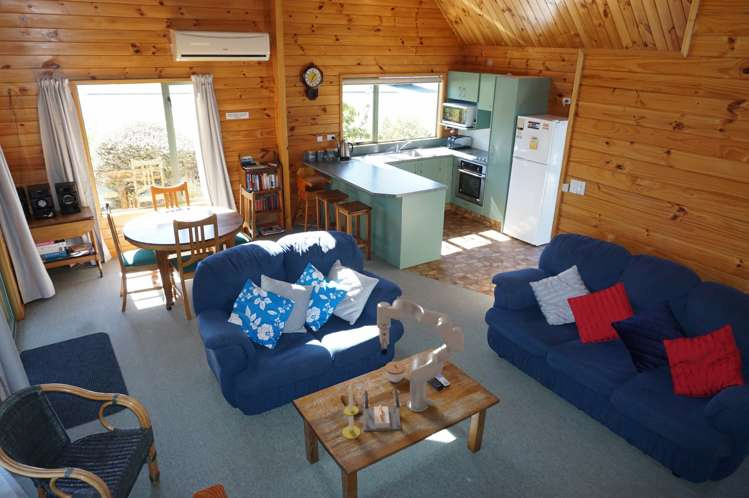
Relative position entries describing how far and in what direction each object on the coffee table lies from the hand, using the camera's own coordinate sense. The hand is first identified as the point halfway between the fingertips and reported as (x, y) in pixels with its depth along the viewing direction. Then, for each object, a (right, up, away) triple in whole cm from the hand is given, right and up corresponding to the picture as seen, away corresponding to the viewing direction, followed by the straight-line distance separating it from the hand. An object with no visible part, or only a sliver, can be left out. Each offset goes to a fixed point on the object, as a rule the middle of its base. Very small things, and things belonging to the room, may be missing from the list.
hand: (383, 349), depth 290 cm
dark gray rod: (+7, -27, -6) cm, 28 cm away
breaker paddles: (-1, -36, -3) cm, 36 cm away
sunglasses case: (-18, -36, +10) cm, 41 cm away
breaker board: (-1, -40, -1) cm, 40 cm away
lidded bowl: (+8, -26, +34) cm, 44 cm away
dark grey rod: (-10, -27, -7) cm, 29 cm away
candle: (-18, -44, -10) cm, 48 cm away
